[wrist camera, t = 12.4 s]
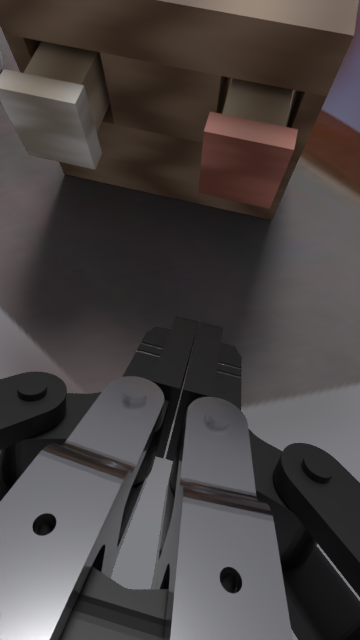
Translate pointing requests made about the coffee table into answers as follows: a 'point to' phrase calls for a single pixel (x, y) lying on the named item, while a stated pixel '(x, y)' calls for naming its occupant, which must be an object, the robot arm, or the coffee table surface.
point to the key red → (248, 144)
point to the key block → (187, 75)
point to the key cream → (58, 103)
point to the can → (1, 61)
